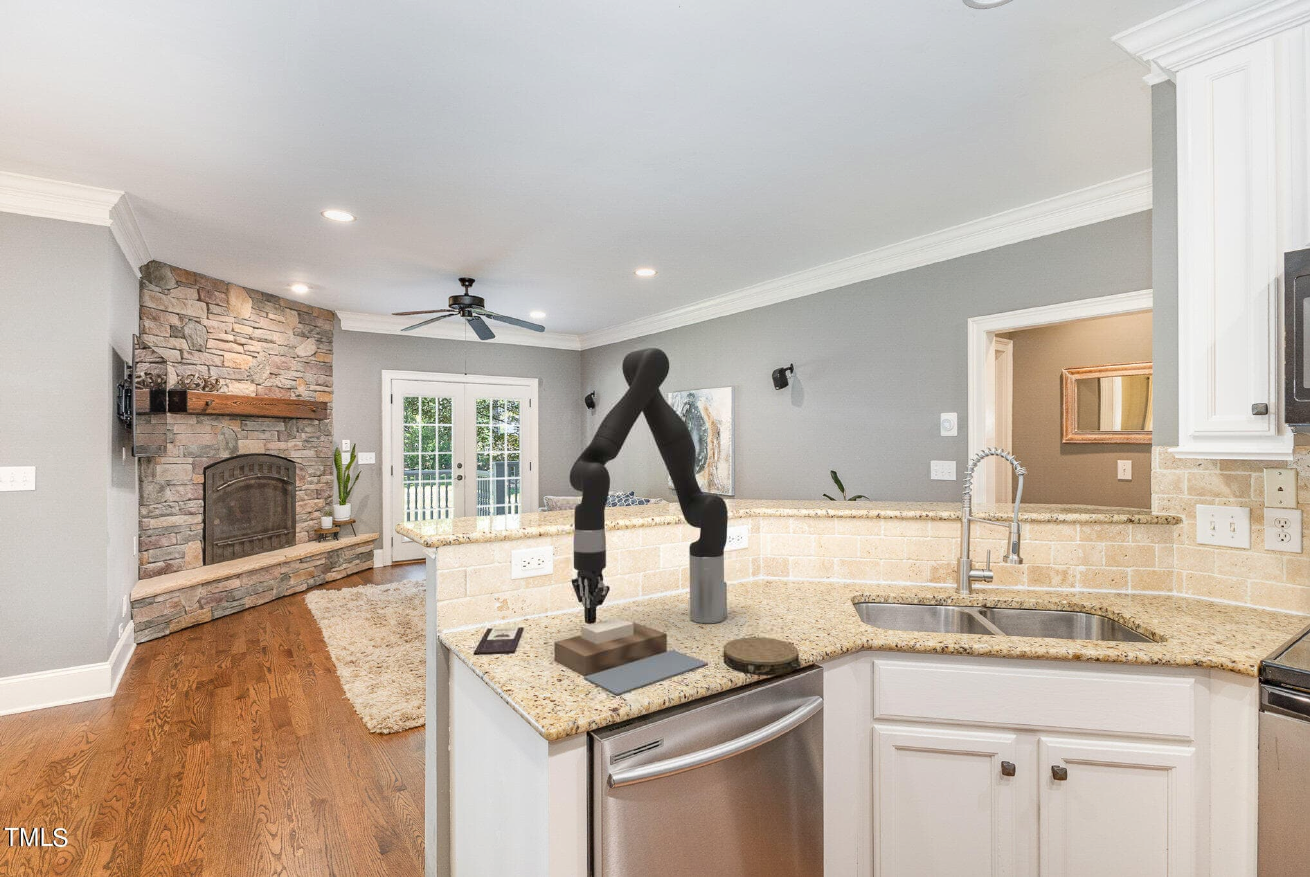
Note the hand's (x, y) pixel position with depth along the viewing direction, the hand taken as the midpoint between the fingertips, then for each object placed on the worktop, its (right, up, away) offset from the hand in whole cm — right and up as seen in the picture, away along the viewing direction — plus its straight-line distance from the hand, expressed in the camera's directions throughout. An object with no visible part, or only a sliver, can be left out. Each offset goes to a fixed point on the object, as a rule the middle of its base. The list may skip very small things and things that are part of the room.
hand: (590, 622), depth 141 cm
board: (+5, -5, -6) cm, 10 cm away
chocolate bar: (-22, -6, +4) cm, 23 cm away
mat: (+13, -5, -16) cm, 22 cm away
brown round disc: (+38, -6, -10) cm, 40 cm away
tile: (+4, 0, -5) cm, 7 cm away
